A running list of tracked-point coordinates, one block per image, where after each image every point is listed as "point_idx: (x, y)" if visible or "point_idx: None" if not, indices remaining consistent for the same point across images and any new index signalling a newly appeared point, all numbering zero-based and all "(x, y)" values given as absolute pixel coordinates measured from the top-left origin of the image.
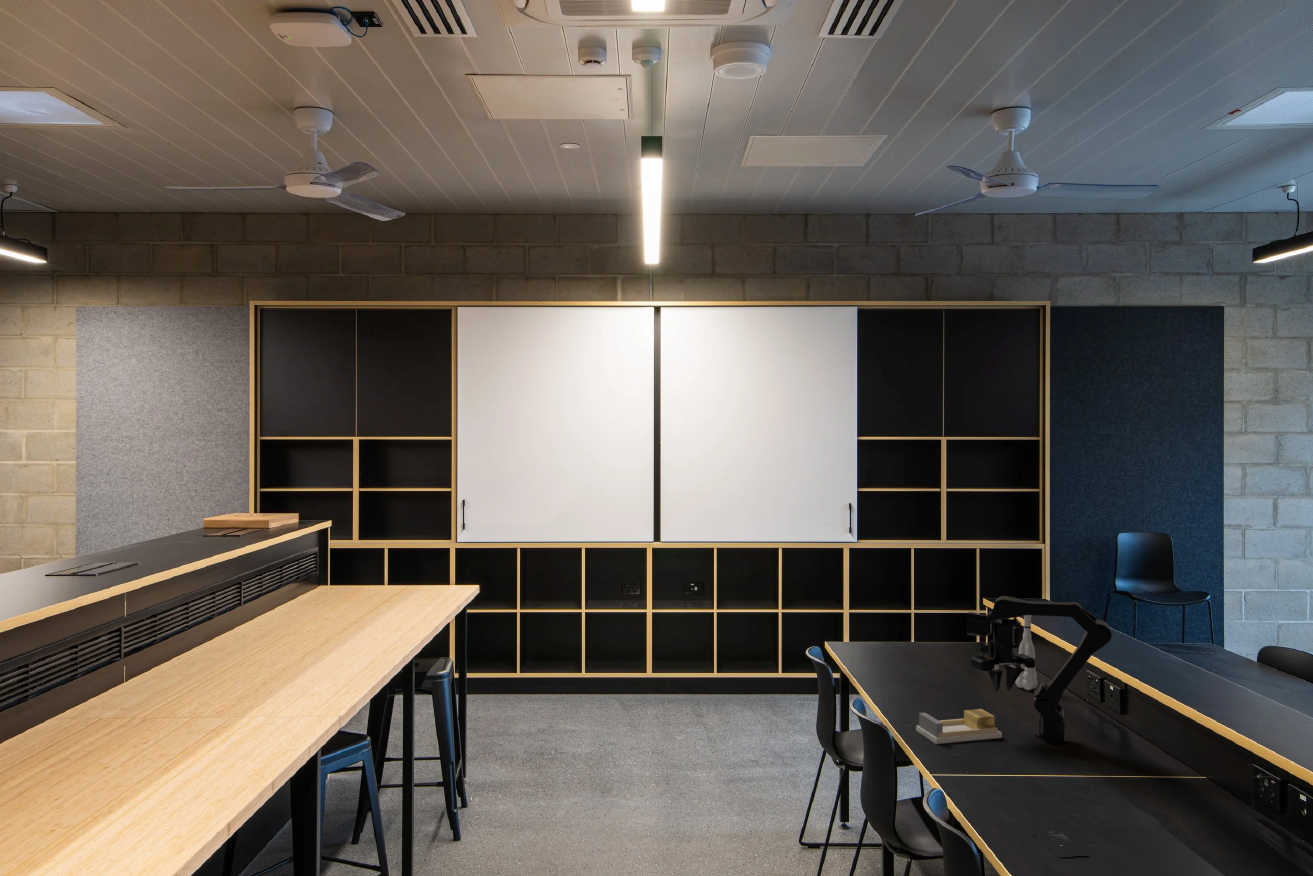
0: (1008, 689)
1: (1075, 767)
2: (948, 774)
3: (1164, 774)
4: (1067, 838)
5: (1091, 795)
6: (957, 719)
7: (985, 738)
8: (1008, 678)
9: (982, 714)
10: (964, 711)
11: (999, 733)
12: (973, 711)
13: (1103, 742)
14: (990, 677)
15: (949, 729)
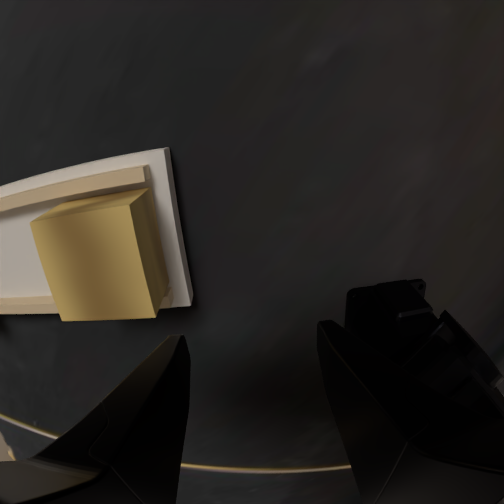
0: (319, 346)
1: (287, 451)
2: (6, 418)
3: None
4: None
5: (228, 501)
6: (33, 195)
7: None
8: (359, 422)
9: (99, 288)
10: (32, 224)
11: (179, 305)
12: (67, 242)
13: (487, 334)
14: (84, 419)
15: (4, 252)
